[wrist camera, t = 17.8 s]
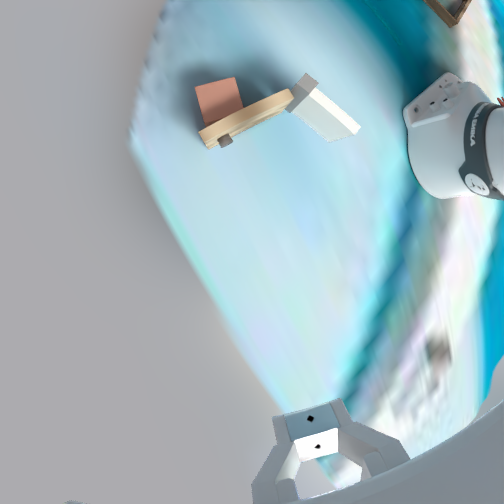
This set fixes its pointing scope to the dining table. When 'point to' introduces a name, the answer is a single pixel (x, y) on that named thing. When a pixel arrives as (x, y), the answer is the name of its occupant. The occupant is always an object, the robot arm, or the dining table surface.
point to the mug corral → (444, 14)
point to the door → (245, 119)
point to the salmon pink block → (218, 100)
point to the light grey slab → (320, 111)
